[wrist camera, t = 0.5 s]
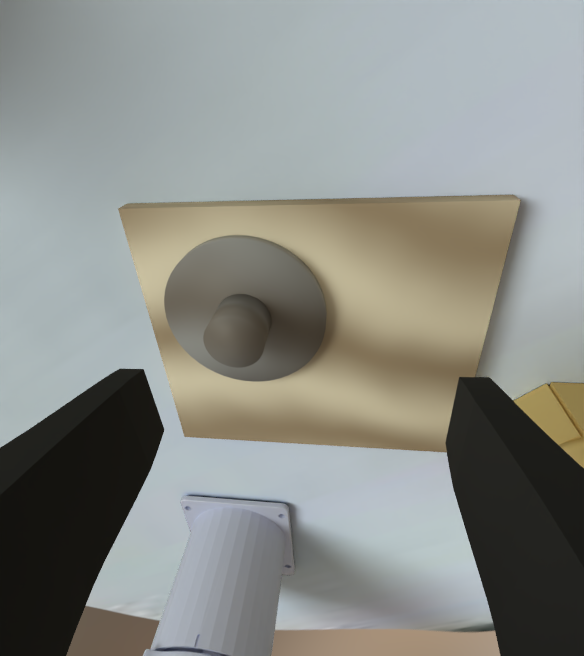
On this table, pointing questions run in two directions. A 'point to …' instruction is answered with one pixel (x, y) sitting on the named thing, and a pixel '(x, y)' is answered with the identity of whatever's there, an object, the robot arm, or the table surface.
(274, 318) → the stud plate
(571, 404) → the cap
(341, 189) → the table surface
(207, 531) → the robot arm
